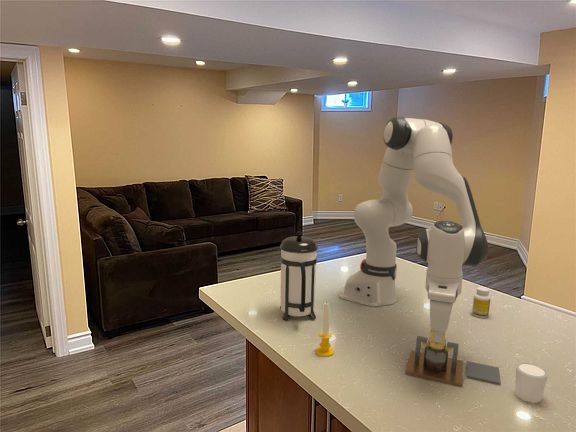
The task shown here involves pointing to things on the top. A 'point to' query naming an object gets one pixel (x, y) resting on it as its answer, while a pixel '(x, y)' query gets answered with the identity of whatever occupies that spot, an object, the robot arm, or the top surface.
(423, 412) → the top surface
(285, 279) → the coffee press
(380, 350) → the top surface
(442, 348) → the cap
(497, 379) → the mat
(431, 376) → the drum on wooden base
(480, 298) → the supplement bottle
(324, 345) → the candle
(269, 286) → the top surface
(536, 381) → the white cylinder
